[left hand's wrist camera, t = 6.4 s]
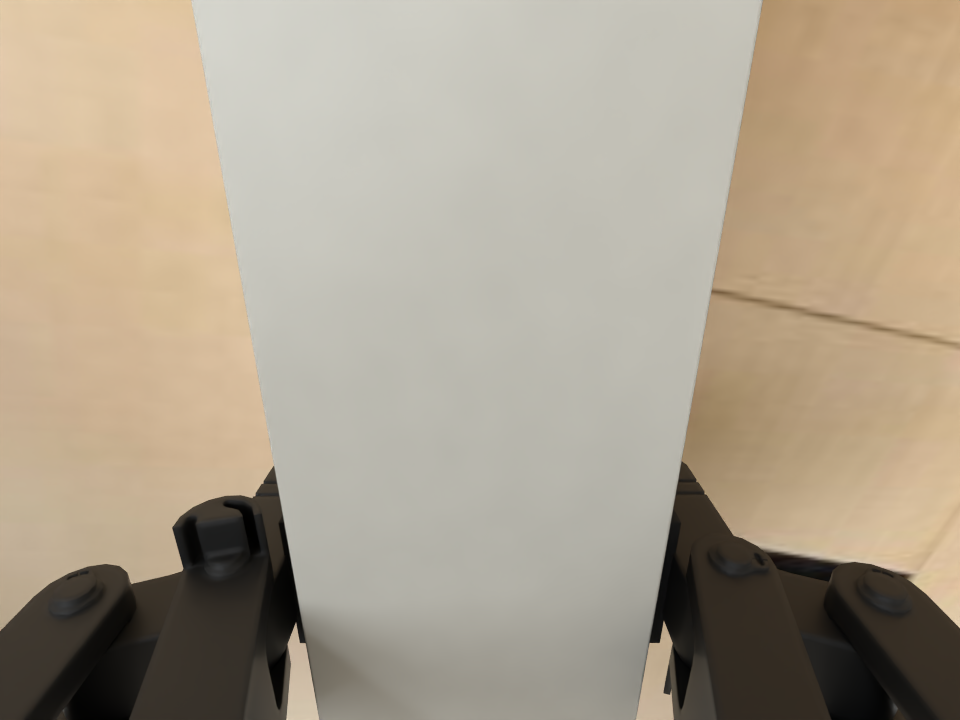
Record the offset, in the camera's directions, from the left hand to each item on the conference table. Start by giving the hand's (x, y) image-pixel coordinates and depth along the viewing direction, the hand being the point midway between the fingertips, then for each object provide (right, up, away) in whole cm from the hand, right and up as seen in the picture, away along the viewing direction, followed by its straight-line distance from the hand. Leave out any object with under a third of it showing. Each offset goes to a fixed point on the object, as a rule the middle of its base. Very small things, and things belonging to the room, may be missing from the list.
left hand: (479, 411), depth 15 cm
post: (0, +21, -8) cm, 23 cm away
